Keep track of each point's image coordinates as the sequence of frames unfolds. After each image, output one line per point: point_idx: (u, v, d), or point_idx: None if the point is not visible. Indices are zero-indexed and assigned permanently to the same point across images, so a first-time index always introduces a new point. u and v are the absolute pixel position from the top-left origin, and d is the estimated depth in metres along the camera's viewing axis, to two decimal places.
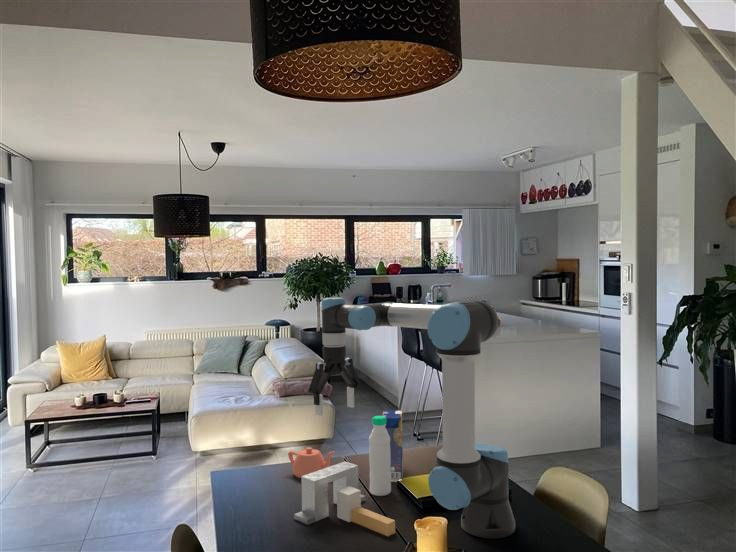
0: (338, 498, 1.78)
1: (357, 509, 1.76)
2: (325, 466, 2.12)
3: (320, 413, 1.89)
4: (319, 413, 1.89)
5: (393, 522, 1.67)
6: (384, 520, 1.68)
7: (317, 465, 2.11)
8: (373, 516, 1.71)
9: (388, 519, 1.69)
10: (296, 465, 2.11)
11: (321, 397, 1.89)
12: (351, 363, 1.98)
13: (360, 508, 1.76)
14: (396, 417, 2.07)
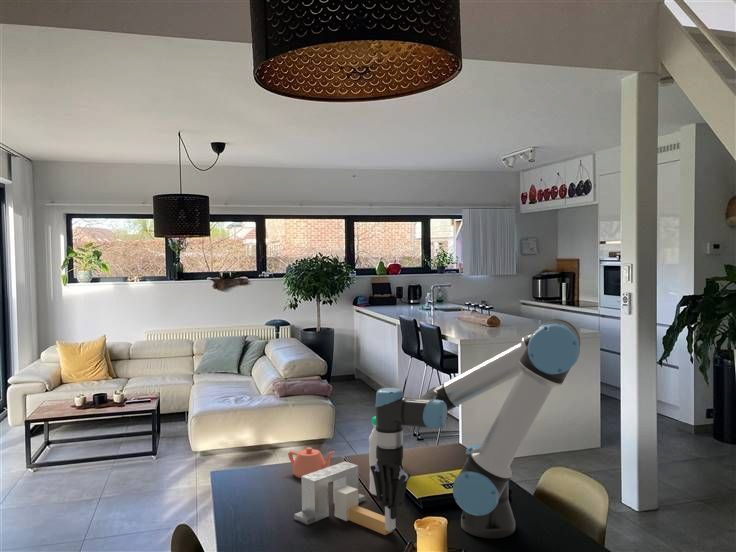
0: (335, 497, 1.79)
1: (355, 508, 1.76)
2: (325, 466, 2.12)
3: None
4: None
5: None
6: (381, 519, 1.69)
7: (317, 465, 2.11)
8: (371, 515, 1.71)
9: None
10: (296, 465, 2.11)
11: (386, 509, 1.66)
12: (401, 480, 1.62)
13: (357, 507, 1.77)
14: None
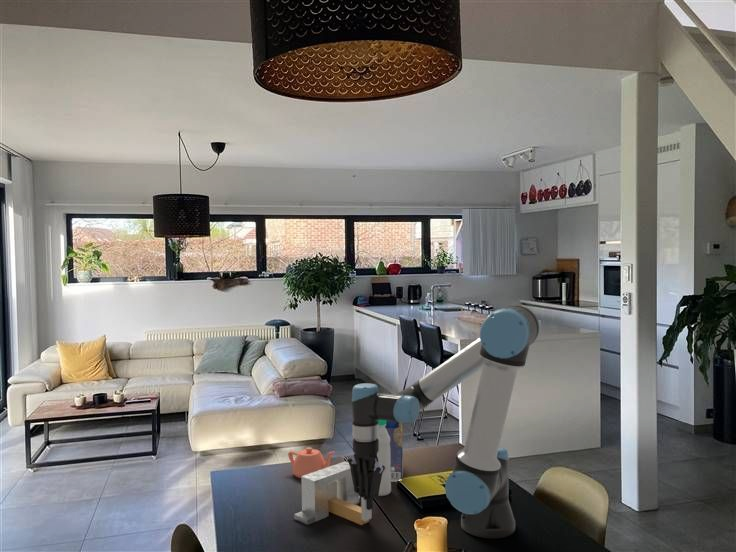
0: None
1: (334, 499, 1.83)
2: (325, 466, 2.12)
3: None
4: None
5: None
6: (358, 509, 1.75)
7: (317, 465, 2.11)
8: (348, 506, 1.78)
9: None
10: (296, 465, 2.11)
11: (362, 500, 1.73)
12: (376, 472, 1.69)
13: (336, 498, 1.84)
14: None
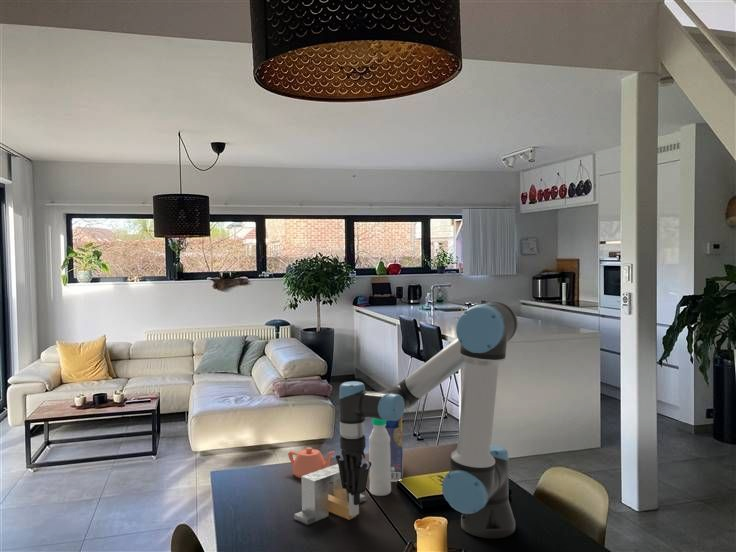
0: None
1: None
2: (325, 466, 2.12)
3: None
4: None
5: None
6: (346, 505, 1.79)
7: (317, 465, 2.11)
8: (336, 501, 1.82)
9: None
10: (296, 465, 2.11)
11: (349, 496, 1.76)
12: (362, 468, 1.73)
13: None
14: None
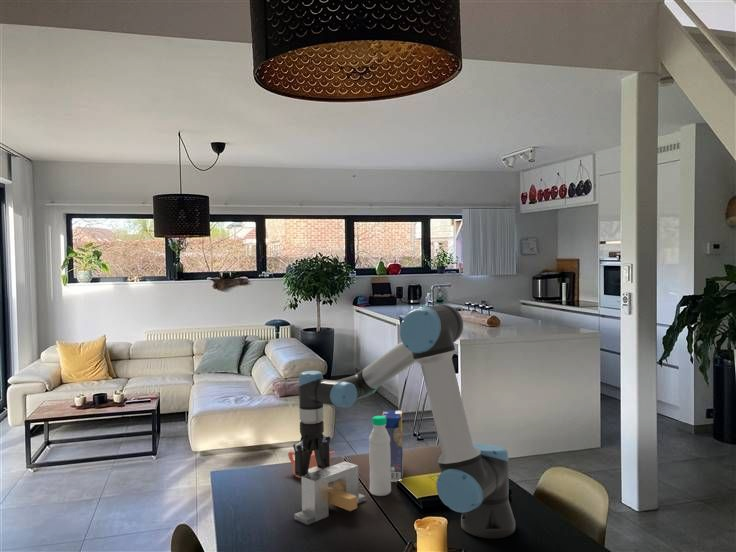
0: None
1: None
2: None
3: None
4: None
5: (355, 498, 1.78)
6: (347, 496, 1.79)
7: None
8: (337, 493, 1.81)
9: (350, 495, 1.79)
10: None
11: None
12: (328, 442, 1.93)
13: None
14: (396, 417, 2.07)
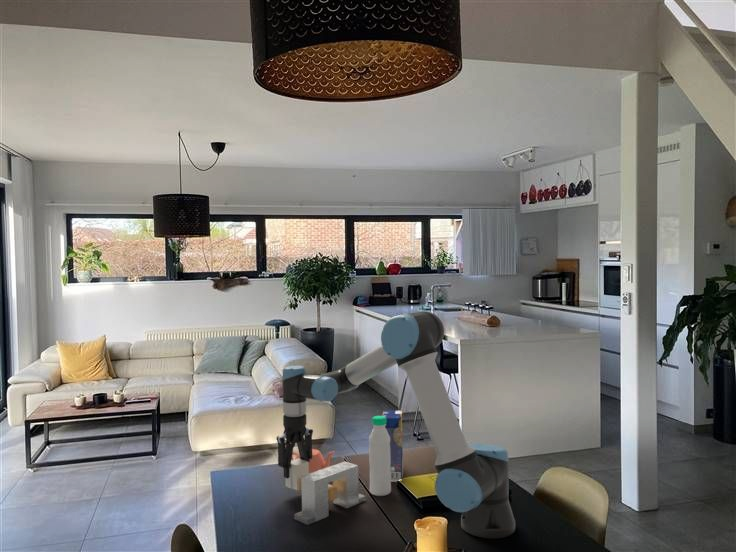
0: None
1: None
2: (325, 466, 2.12)
3: (290, 486, 1.93)
4: (289, 486, 1.93)
5: (335, 488, 1.84)
6: None
7: (317, 465, 2.11)
8: None
9: (331, 486, 1.85)
10: None
11: (291, 470, 1.93)
12: (310, 434, 1.99)
13: None
14: (396, 417, 2.07)
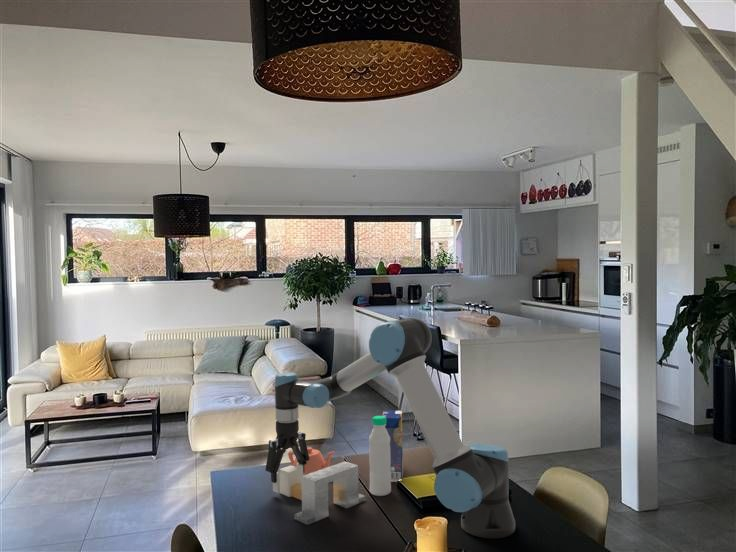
0: (280, 476, 1.98)
1: (297, 485, 1.95)
2: (325, 466, 2.12)
3: (277, 490, 1.95)
4: (276, 490, 1.95)
5: None
6: None
7: (317, 465, 2.11)
8: None
9: None
10: None
11: (278, 475, 1.94)
12: (304, 438, 2.02)
13: (299, 484, 1.96)
14: (396, 417, 2.07)
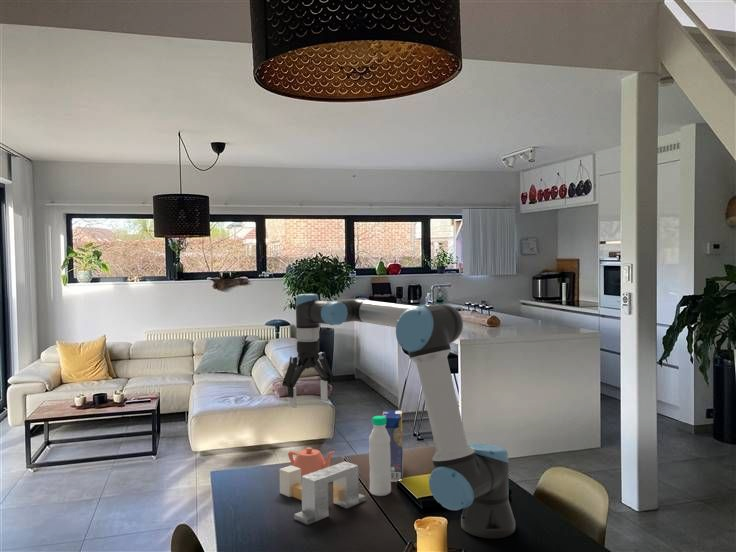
0: (280, 475, 1.98)
1: (297, 485, 1.95)
2: (325, 466, 2.12)
3: (294, 405, 1.95)
4: (293, 405, 1.96)
5: None
6: None
7: (317, 465, 2.11)
8: None
9: None
10: (296, 465, 2.11)
11: (295, 390, 1.95)
12: (324, 357, 2.05)
13: (300, 484, 1.96)
14: (396, 417, 2.07)
